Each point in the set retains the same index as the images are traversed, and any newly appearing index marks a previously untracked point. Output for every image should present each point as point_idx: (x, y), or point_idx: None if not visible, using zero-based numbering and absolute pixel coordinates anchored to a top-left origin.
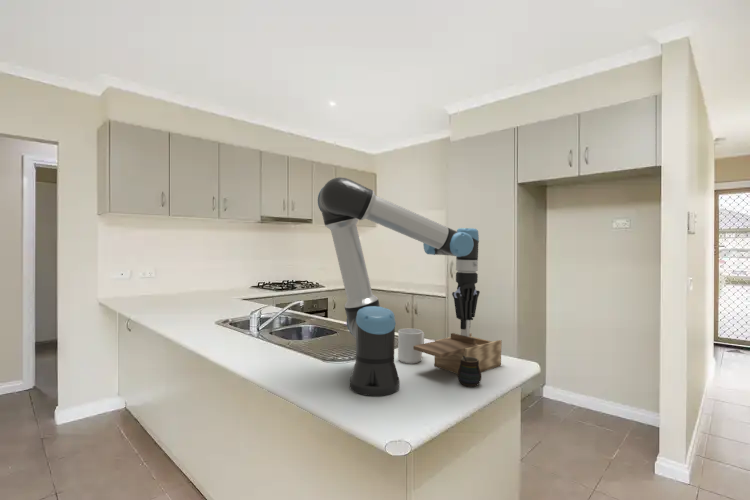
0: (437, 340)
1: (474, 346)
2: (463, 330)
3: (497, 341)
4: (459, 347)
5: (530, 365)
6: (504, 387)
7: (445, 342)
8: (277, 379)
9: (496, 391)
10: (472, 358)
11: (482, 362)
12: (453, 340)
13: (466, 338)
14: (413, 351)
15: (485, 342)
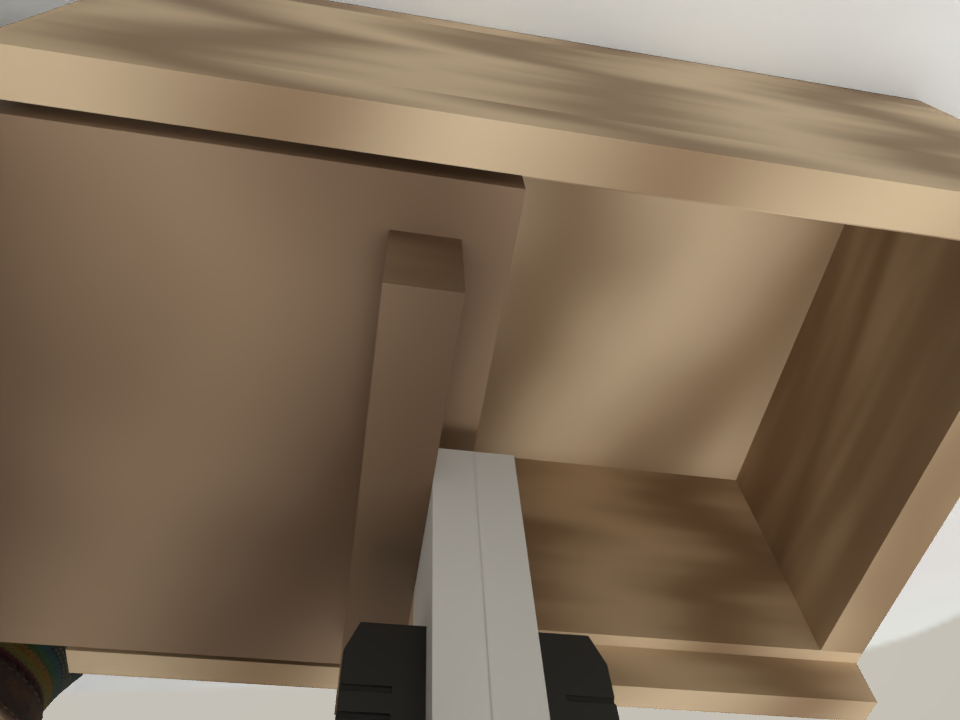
0: (26, 87)
1: (279, 671)
2: (422, 615)
3: (773, 714)
4: (28, 595)
5: (907, 622)
6: (234, 686)
7: (51, 311)
8: None
9: (114, 685)
10: (7, 716)
11: None
12: (325, 330)
13: (347, 599)
14: None
15: (884, 500)
